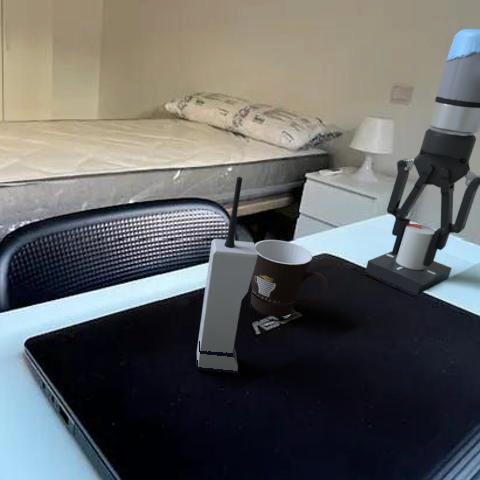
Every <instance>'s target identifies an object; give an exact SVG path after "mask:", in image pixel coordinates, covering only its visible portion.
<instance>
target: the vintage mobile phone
mask: <svg viewBox="0 0 480 480" xmlns="http://www.w3.org/2000/svg"><path fill="white" fill-rule="evenodd" d="M242 183H243V177H241V176H237V177H236V180H235V189H234V196H233V201H232V208H231V214H230V217H229V222H228V228H227V235H226V239H222V238H221V239H220V238H214V239H212V240H211V243H210V244H211V245H210V249H209V250H210V252H209V258H208V259H209V260H208V266H207V272H206V281H205V287H204V294H203V295H204V296H203V303H202V310H201V316H200V317H201V318H200V325H199V333H198V340H197V347H196V361H197V360H198V367H202V368H213V369H223V370H233V371H237V372H238V369H239V366H238V360H237V359H238V357H237V352H236V349H235V343H236V342H235V341H236V336H237V330H238V323H239V318H240V312H241V307H242V300H243V299H244V298H245V296H246V295H247V294H248V293H249V289H250V285H251V283H252V275H253V271H254V268H255V264H256V260H257V257H258V254H257V251H256V248H255V242H251V241H243V240H235V236H236V230H237V223H238V210H239V204H240V197H241V192H242V191H241V189H242V185H243V184H242ZM199 341H200V351H207V352H208V351H211V352H223V353H226V352H227V353H233V356H234V357H227V356H217V355H207V354H200V352H199Z"/></svg>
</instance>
